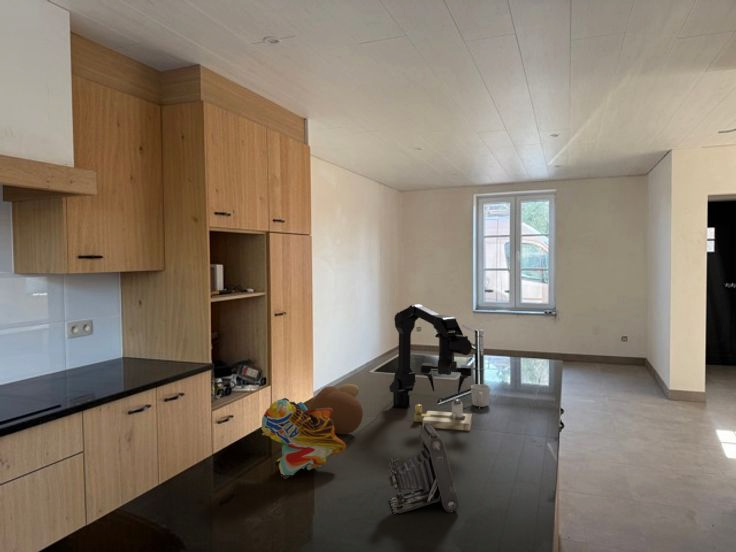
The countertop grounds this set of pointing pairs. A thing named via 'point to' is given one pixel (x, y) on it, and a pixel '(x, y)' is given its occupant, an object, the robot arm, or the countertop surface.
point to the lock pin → (419, 413)
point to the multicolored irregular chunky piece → (301, 435)
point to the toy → (340, 407)
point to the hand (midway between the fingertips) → (446, 392)
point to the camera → (424, 476)
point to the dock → (448, 421)
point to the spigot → (457, 409)
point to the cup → (480, 395)
